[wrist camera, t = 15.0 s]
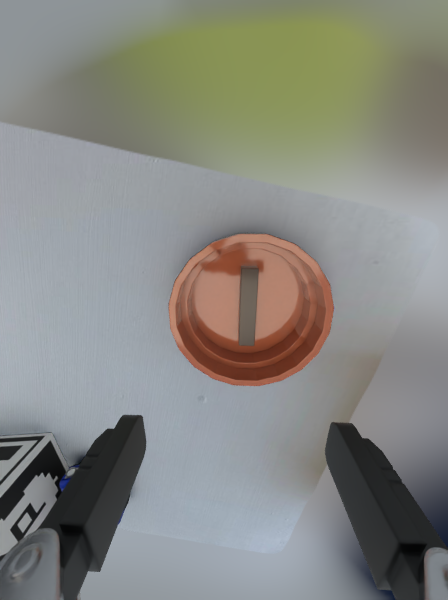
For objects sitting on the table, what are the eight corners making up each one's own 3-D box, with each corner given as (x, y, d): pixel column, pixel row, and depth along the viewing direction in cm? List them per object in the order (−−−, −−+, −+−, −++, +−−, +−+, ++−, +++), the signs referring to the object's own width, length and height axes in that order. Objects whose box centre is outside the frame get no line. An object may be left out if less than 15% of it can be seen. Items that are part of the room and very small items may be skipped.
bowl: (176, 232, 26) (162, 233, 21) (324, 233, 26) (347, 235, 20) (183, 358, 32) (174, 383, 26) (305, 361, 31) (319, 388, 26)
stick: (238, 338, 30) (238, 345, 28) (240, 265, 27) (241, 268, 25) (252, 338, 30) (254, 346, 28) (257, 265, 26) (258, 268, 25)
